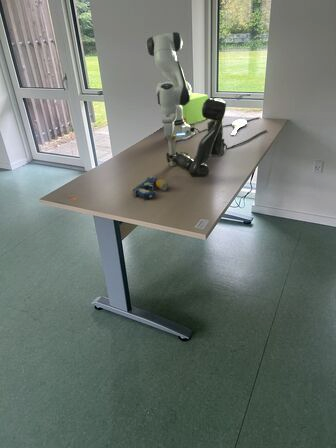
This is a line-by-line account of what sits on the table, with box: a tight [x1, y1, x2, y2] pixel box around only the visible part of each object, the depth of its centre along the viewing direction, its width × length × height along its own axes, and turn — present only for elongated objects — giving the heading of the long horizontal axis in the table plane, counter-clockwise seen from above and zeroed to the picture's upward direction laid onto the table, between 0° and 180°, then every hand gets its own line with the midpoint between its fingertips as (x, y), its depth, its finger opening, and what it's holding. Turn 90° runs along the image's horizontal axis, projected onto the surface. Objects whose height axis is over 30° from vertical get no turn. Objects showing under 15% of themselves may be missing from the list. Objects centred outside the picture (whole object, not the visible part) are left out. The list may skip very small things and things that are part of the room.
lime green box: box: [182, 91, 209, 126], centre depth 283 cm, size 25×21×23 cm
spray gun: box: [131, 175, 169, 200], centre depth 172 cm, size 21×4×15 cm
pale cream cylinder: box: [167, 140, 177, 167], centre depth 198 cm, size 4×4×17 cm
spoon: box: [231, 119, 248, 136], centre depth 255 cm, size 35×11×2 cm, turn 159°
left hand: (170, 139), depth 195 cm, fingers open, 7 cm apart
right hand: (170, 153), depth 202 cm, fingers closed on pale cream cylinder, 4 cm apart
